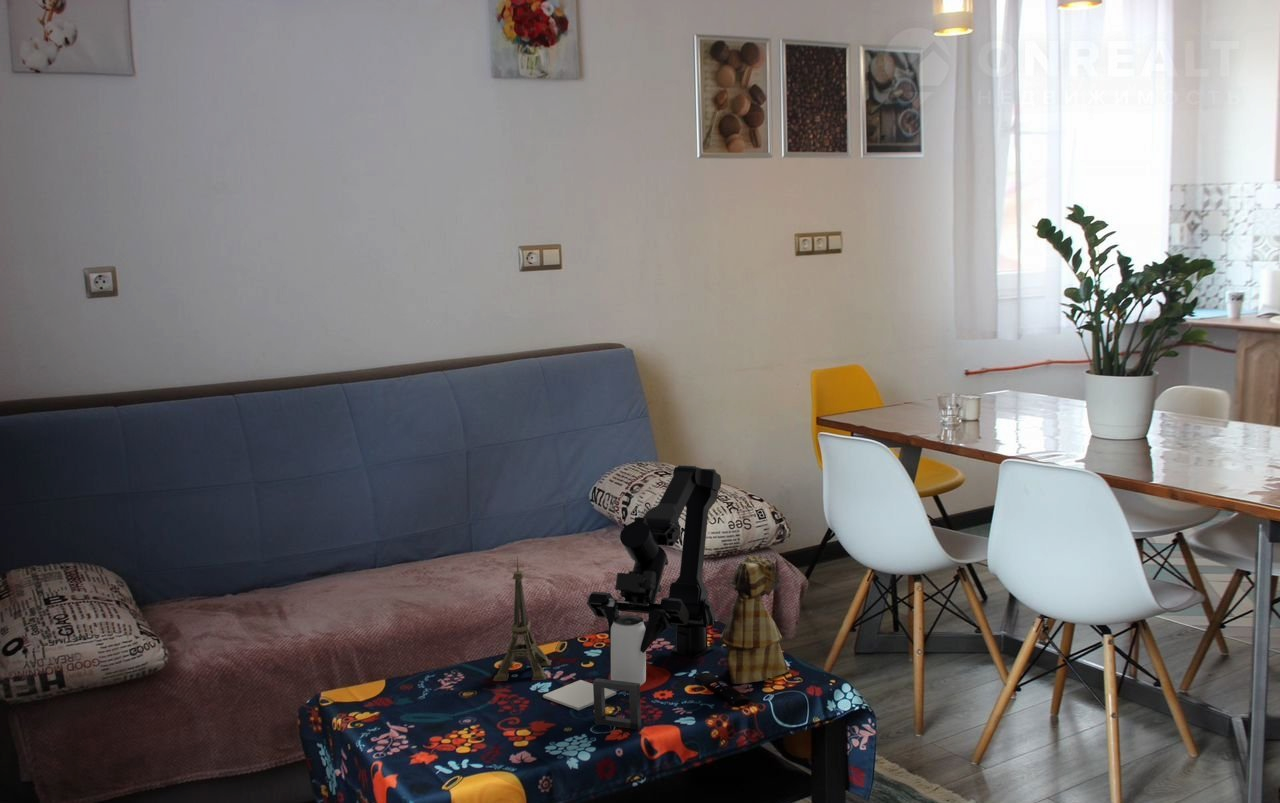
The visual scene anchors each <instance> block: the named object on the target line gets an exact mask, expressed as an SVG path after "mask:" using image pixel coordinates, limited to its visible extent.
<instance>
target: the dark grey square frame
mask: <svg viewBox="0 0 1280 803" xmlns="http://www.w3.org/2000/svg"><path fill="white" fill-rule="evenodd" d="M592 684H593V693H594V704H593V712H594V724H595V725H602V726H609V727H616V728H617V727H618V728H624V729H625V728H626V729H632V730H639V729H640V728H642V708H641V707H642V706H641V705H642V704H641V703H642V702H641V686H640V683H632V682H624V681H616V680H611V679H605V678H599V677H597V678H595V679H594V680H593V681H592ZM604 688H607V689H610V690H619V691H626V692H628V698H629V700H628V701H629V719H628V718H623V717H617V716H616V717H614V716H607V715H606V699H605V691H604Z"/></svg>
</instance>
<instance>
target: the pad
mask: <svg viewBox="0 0 1280 803" xmlns="http://www.w3.org/2000/svg"><path fill="white" fill-rule="evenodd" d="M604 691H605V700H607V699H608V698H612V697H613V696H615V695H617V691H615V690H614V689H610V688H604ZM542 698H543V699H545V700H549V701H552V702H554V703H557V704H560V705H563V706H565V707H568V708H571V709H574V710H576V711H580V710H583V709H585V708H587V707H590V706H594V693H593V682H592V683H591V682H588V681H586V680H582V679H579V680H576V681H574V682H572V683H569V684H567V685H565V686H561V687H560V688H557V689H554V690H552V691H549V692H547V693H544V694H543V695H542Z"/></svg>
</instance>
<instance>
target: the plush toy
mask: <svg viewBox="0 0 1280 803" xmlns="http://www.w3.org/2000/svg"><path fill="white" fill-rule="evenodd" d="M738 564H739V565H738V566H737V568H736V570H735V572H734V575H733V578H732V580H731V581H729V582H728V583H727V585H733V586H734V587H733V590H734V592H737V594H738V595H737V596H736V600H735V602H734V603H733V607H732V609H731V612H730V615H729V617H728V620H727V623H726V624H725V626H724V628H723V631H722V633H721V634H720V636H719V640H720V641H721V642H722V643H723V644H724V646H726V647H727V649H728V650H727V655H726V656H727V658H726V666H727V669H728V672H729V676H730V683H731V684H733V685H737V684H740V685H743V684H748V683H754V682H755V683H756V682H763V681H766V680H769V679H768V678H770V679H772V678H771V677H773V678H775V677H777V676H781V675H783V674H787V673H788V672H790V667H788V665H787V662H786V659H785V658H784V654H783V652H782V648H781V645H780V641H781V640H783V635H781V632H780V631H779V628H778V626H777V624H776V622H775V621H774V619H773V617H772V616H771V614H770V613H769V611H768V610H767V609H766V606H765V605H764V602H763V600H762V597H763V596H765V595H767V596H768V597H770V595H771V593H772V591H777V592H778V591H779V587H780V586H781V582H782V581H781V579H780V578H781V577H782V575H781V574H780V575H779V572H777V571H776V569H777V567H776V563H774V562H773V561H772V560H771V559H768V558H764V557H762V555H759V556H757V555H746V558H745V559H744V560H742V561H740V563H738Z"/></svg>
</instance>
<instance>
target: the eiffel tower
mask: <svg viewBox="0 0 1280 803" xmlns="http://www.w3.org/2000/svg"><path fill="white" fill-rule="evenodd" d="M523 572H524V571H523V570H521V571H520V569H519V560H518V557H516V571H514V572H513V573H512V574H513V576H512V578H511V579H513V580H514V599H513V600H514V604H513V605H514V606H513V623H512V625H511V626H510V631H511V632H512V635H511V640H510V643H509V645H508V647H507V648H506V650H507V652H506V654H505V656H504V657H503V660H501V661H500V664H499V669H498V671H497V673H496V674H495V675H494V678H493V679H492V681H493V682H505V681H506V682H507V681H508V679H509V676H510V673H509V671H510V668H511V667H512V668H513V666H514V665H515V660H516V659H521V658H522V659H526V660H527V661H528V662H529V664H530V667H531V671H532V676H531V680H532V681H546V680H547V677H548V673H546V671H544V668H542V667H551V665H552V661H553V660H550V659H549V658H548V657H547V655H546V654H545V653H544V651H543V650H542V649H541V648H540V647H539V646H538V645H537V644H536V643H537V639H535V638H534V637H533V634H532V632H531V629H530V628H531V625H532V623H531V620H528V615H527V608H526V599H525V593H524V586H523V578H524V576H525V574H524V573H523ZM519 636H523V639H524V640H519V641H518V637H519Z"/></svg>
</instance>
